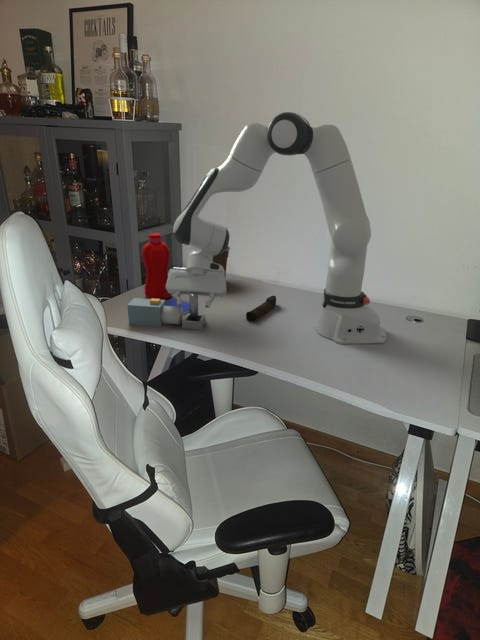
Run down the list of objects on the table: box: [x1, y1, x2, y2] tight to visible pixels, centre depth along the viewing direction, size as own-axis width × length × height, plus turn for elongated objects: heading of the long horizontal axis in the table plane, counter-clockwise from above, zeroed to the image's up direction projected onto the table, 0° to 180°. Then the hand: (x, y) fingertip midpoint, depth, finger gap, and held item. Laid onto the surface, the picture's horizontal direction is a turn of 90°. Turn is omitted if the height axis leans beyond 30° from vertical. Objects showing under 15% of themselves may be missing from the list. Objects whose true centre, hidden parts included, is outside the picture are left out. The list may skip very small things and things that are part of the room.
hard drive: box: [165, 297, 190, 315], centre depth 151 cm, size 2×8×12 cm
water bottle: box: [141, 232, 173, 301], centre depth 156 cm, size 9×11×25 cm
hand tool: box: [245, 295, 277, 323], centre depth 148 cm, size 19×4×5 cm, turn 146°
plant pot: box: [213, 245, 231, 277], centre depth 173 cm, size 16×16×16 cm
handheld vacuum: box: [126, 297, 207, 331], centre depth 137 cm, size 25×7×8 cm, turn 83°
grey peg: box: [188, 293, 200, 321], centre depth 136 cm, size 4×4×11 cm
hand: (193, 306), depth 135 cm, fingers open, 8 cm apart
